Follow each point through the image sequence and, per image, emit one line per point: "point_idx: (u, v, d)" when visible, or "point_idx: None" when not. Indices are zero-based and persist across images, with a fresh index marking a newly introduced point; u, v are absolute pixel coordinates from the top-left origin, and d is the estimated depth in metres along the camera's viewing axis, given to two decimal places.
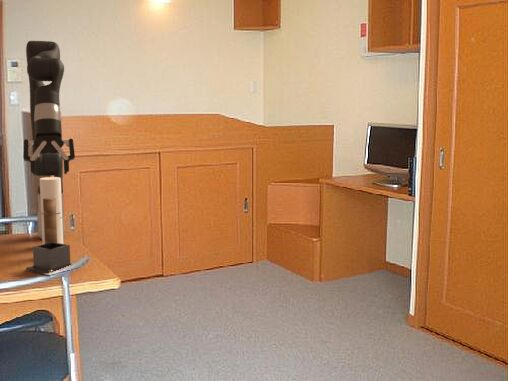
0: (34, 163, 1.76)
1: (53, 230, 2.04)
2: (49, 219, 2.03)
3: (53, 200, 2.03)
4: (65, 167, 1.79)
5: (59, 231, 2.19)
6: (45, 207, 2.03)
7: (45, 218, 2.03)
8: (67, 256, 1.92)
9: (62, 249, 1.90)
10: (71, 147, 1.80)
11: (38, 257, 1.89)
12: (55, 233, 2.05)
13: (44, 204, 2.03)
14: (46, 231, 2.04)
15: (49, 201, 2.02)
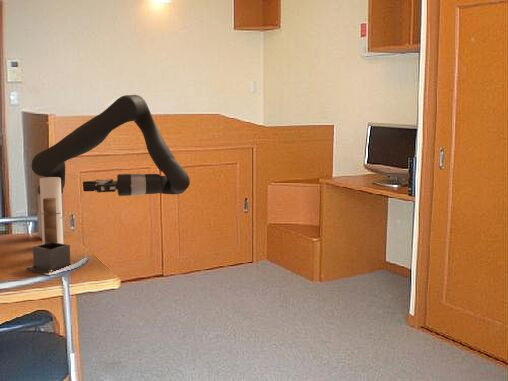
0: None
1: (53, 230, 2.04)
2: (49, 219, 2.03)
3: (53, 200, 2.03)
4: None
5: (59, 231, 2.19)
6: (45, 207, 2.03)
7: (45, 218, 2.03)
8: (67, 256, 1.92)
9: (62, 249, 1.90)
10: None
11: (38, 257, 1.89)
12: (55, 233, 2.05)
13: (44, 204, 2.03)
14: (46, 231, 2.04)
15: (49, 201, 2.02)
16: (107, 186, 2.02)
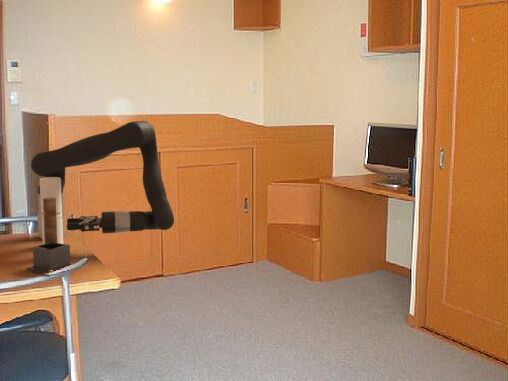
0: None
1: (53, 230, 2.04)
2: (50, 219, 2.03)
3: (53, 200, 2.03)
4: None
5: (59, 231, 2.19)
6: (45, 207, 2.03)
7: (45, 218, 2.03)
8: (67, 256, 1.92)
9: (62, 249, 1.90)
10: None
11: (38, 257, 1.89)
12: (55, 233, 2.05)
13: (44, 204, 2.03)
14: (46, 231, 2.04)
15: (49, 201, 2.02)
16: (91, 225, 2.03)
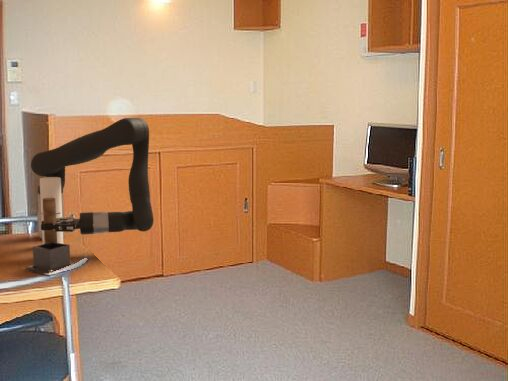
0: None
1: (52, 230, 2.04)
2: (49, 219, 2.03)
3: (53, 200, 2.03)
4: None
5: None
6: (45, 207, 2.03)
7: (45, 218, 2.03)
8: (67, 256, 1.92)
9: (62, 249, 1.90)
10: None
11: (38, 257, 1.89)
12: (55, 233, 2.05)
13: (44, 204, 2.03)
14: (46, 231, 2.04)
15: (49, 201, 2.02)
16: (64, 226, 2.01)
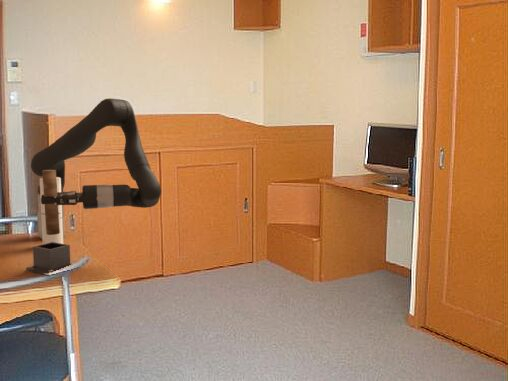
0: (51, 203, 1.89)
1: (53, 204, 1.90)
2: (50, 192, 1.89)
3: (53, 172, 1.89)
4: None
5: None
6: (45, 179, 1.88)
7: (45, 191, 1.89)
8: (67, 256, 1.92)
9: (62, 249, 1.90)
10: None
11: (38, 257, 1.89)
12: (56, 207, 1.91)
13: (44, 176, 1.88)
14: (46, 205, 1.90)
15: (49, 173, 1.88)
16: (66, 199, 1.87)
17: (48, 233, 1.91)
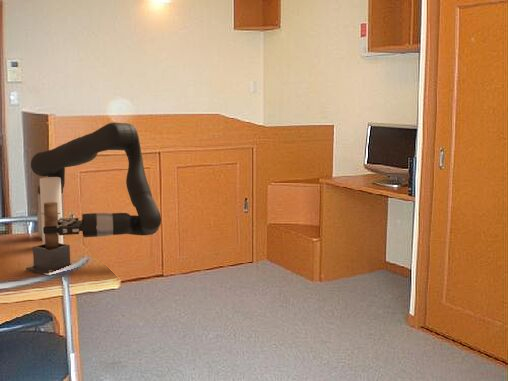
0: None
1: (54, 237, 1.90)
2: (51, 225, 1.89)
3: (55, 205, 1.89)
4: None
5: None
6: (46, 212, 1.88)
7: (46, 224, 1.89)
8: (67, 256, 1.92)
9: (62, 249, 1.90)
10: None
11: (38, 257, 1.89)
12: (56, 240, 1.91)
13: (45, 209, 1.88)
14: (47, 238, 1.89)
15: (50, 206, 1.88)
16: (69, 228, 1.85)
17: None
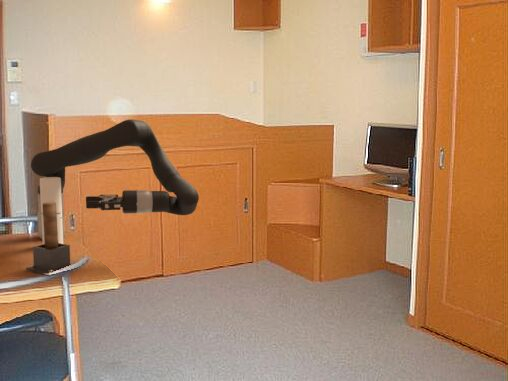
0: None
1: (53, 237, 1.89)
2: (50, 225, 1.88)
3: (53, 205, 1.88)
4: None
5: (59, 231, 2.19)
6: (45, 212, 1.88)
7: (45, 224, 1.89)
8: (67, 256, 1.92)
9: (62, 249, 1.90)
10: None
11: (38, 257, 1.89)
12: (56, 240, 1.90)
13: (44, 209, 1.88)
14: (46, 238, 1.89)
15: (49, 206, 1.88)
16: (111, 204, 1.91)
17: None
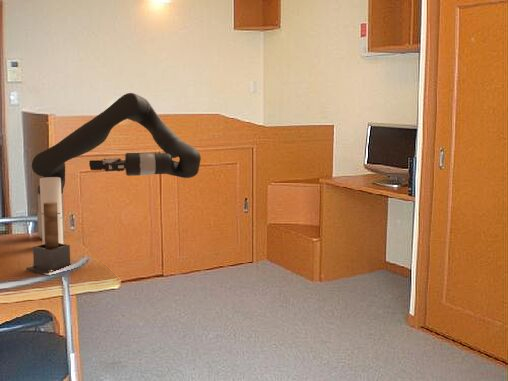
0: (100, 169, 1.94)
1: (54, 237, 1.90)
2: (50, 225, 1.89)
3: (54, 205, 1.89)
4: None
5: (59, 231, 2.19)
6: (46, 212, 1.88)
7: (46, 224, 1.89)
8: (67, 256, 1.92)
9: (62, 249, 1.90)
10: None
11: (38, 257, 1.89)
12: (56, 240, 1.91)
13: (45, 209, 1.88)
14: (47, 238, 1.89)
15: (50, 206, 1.88)
16: (115, 165, 1.93)
17: None
